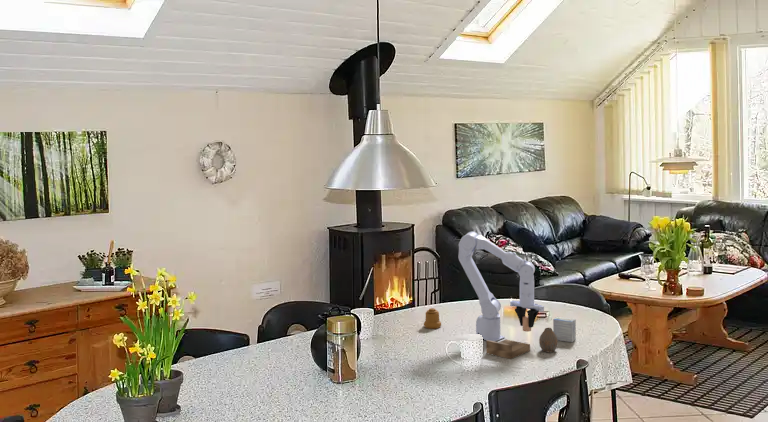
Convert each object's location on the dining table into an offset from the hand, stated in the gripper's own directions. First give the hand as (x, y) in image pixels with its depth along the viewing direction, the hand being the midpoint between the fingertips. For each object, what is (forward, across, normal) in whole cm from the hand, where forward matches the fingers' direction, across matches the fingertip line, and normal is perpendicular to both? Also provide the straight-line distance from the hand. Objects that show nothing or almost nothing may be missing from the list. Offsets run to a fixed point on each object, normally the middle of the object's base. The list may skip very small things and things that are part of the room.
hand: (526, 326), depth 312 cm
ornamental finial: (+6, +43, +7) cm, 44 cm away
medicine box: (+6, -11, -10) cm, 16 cm away
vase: (+6, -14, +6) cm, 16 cm away
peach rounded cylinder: (+2, 0, 0) cm, 2 cm away
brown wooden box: (+6, -3, +17) cm, 18 cm away
